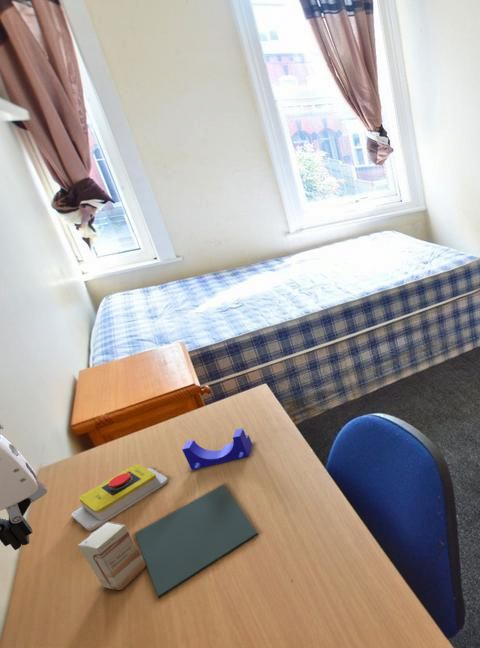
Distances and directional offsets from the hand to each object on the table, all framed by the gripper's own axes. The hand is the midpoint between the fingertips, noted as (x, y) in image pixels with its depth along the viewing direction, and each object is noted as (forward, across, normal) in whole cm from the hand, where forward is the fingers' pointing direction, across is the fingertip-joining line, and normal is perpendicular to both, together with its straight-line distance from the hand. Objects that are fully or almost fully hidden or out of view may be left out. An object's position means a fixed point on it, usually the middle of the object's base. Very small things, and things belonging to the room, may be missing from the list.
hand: (22, 541), depth 71 cm
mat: (+16, -18, 0) cm, 24 cm away
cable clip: (+16, -29, -21) cm, 40 cm away
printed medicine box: (+16, -7, 0) cm, 18 cm away
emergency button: (+16, -10, -25) cm, 32 cm away
